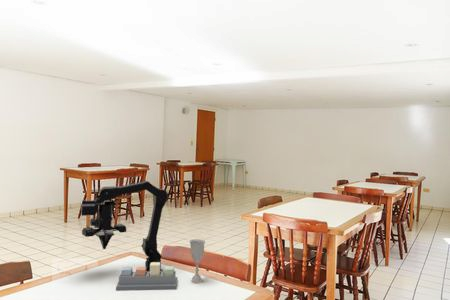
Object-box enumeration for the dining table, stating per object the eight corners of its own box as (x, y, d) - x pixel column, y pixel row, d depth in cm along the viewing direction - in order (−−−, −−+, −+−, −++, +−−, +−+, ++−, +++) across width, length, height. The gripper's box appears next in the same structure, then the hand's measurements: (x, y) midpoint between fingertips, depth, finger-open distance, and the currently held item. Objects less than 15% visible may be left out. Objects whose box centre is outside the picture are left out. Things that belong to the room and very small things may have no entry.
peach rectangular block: (146, 279, 161) (146, 266, 161) (144, 282, 157) (145, 269, 157) (136, 279, 161) (137, 266, 161) (135, 282, 157) (135, 269, 157)
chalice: (207, 279, 167) (208, 240, 166) (200, 285, 161) (201, 244, 160) (193, 277, 170) (194, 238, 169) (185, 282, 164) (186, 241, 163)
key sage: (173, 278, 163) (173, 266, 162) (173, 282, 159) (173, 269, 158) (164, 278, 162) (164, 266, 162) (163, 282, 158) (164, 269, 158)
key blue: (132, 279, 161) (132, 266, 161) (130, 282, 157) (130, 270, 157) (122, 279, 161) (123, 266, 160) (121, 283, 157) (121, 270, 156)
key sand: (160, 274, 162) (160, 262, 162) (159, 278, 158) (159, 265, 158) (150, 274, 162) (150, 262, 161) (149, 278, 158) (149, 265, 157)
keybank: (177, 280, 166) (177, 269, 166) (176, 289, 156) (176, 277, 156) (120, 281, 163) (120, 270, 163) (115, 290, 154) (116, 278, 153)
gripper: (117, 210, 180) (116, 242, 181) (78, 213, 169) (77, 247, 169) (127, 214, 172) (126, 247, 172) (86, 218, 160) (85, 253, 160)
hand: (104, 248), depth 168 cm, fingers closed
